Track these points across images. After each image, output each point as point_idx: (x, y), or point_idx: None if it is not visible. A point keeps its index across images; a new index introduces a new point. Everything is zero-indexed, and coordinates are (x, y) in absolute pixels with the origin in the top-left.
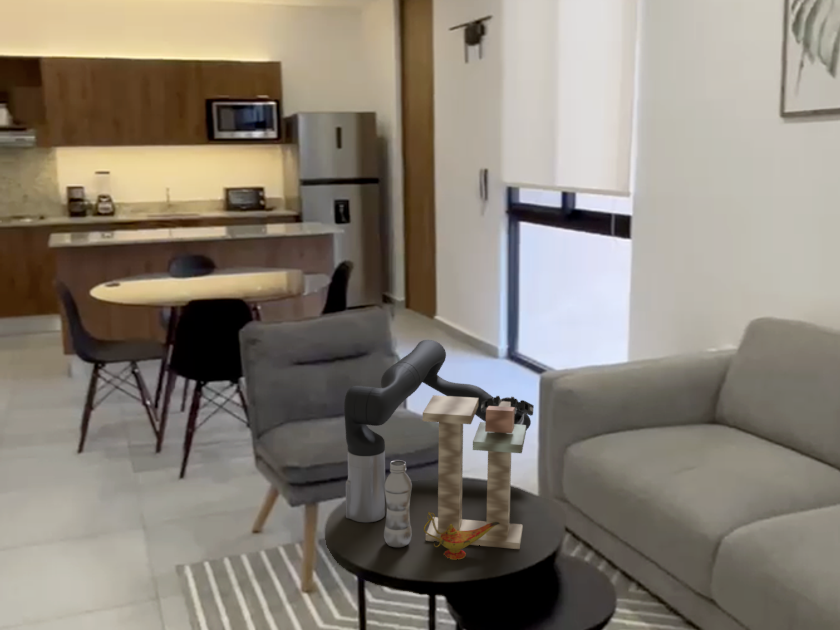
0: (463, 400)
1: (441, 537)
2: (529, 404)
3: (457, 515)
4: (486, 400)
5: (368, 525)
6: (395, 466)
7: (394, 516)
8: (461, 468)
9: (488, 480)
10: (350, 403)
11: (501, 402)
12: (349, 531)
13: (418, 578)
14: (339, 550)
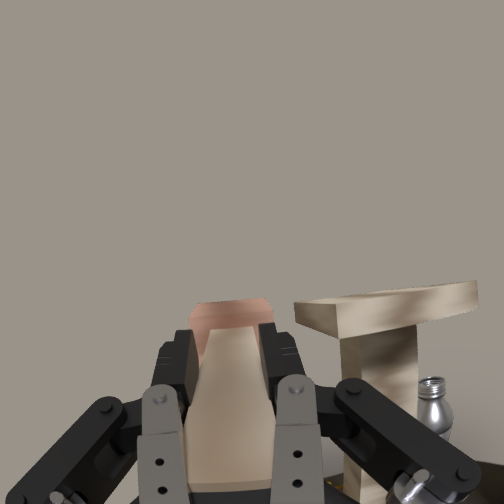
0: (368, 297)
1: (342, 491)
2: (52, 456)
3: None
4: (385, 403)
5: (498, 500)
6: (425, 379)
7: None
8: (354, 470)
9: None
10: None
11: (271, 435)
12: (499, 479)
13: (341, 474)
14: None
